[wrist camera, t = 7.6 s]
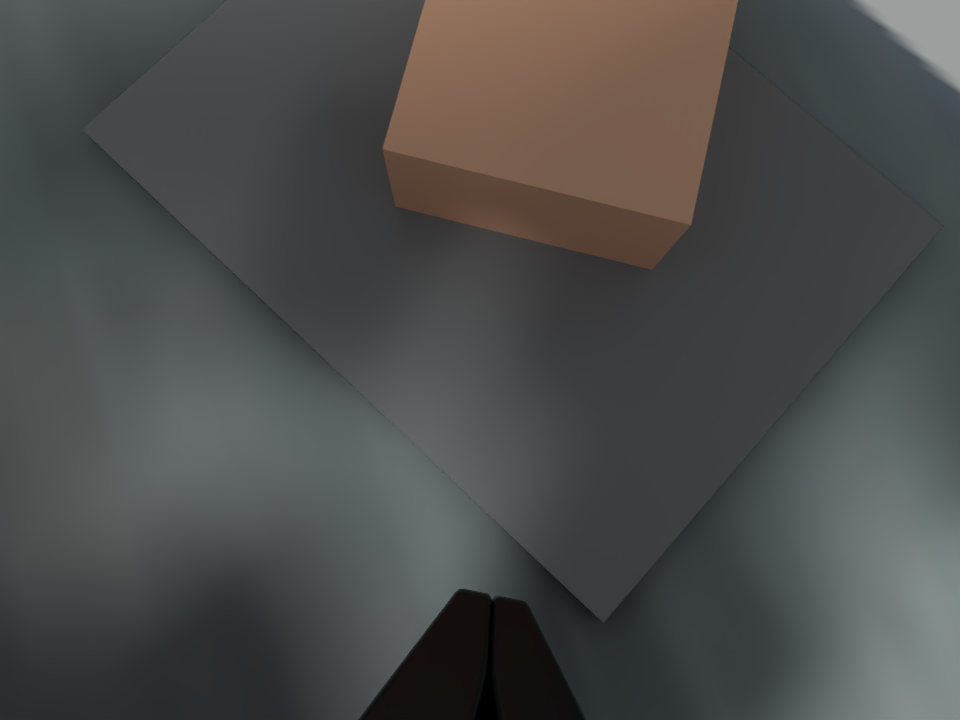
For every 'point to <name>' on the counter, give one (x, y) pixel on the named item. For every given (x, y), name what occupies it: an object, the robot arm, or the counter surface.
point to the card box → (561, 119)
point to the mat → (518, 279)
